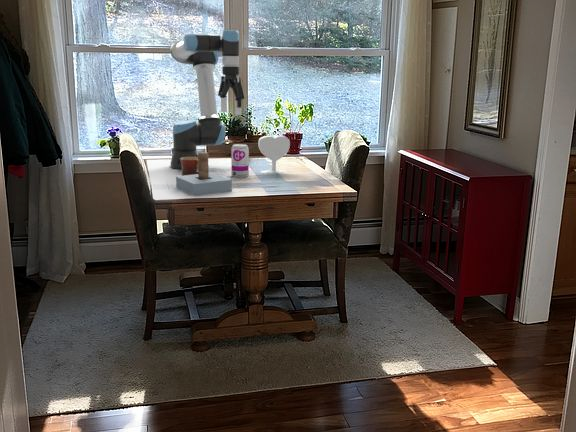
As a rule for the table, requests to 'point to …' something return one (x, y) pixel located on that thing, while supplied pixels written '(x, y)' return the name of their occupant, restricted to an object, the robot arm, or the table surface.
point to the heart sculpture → (274, 149)
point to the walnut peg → (203, 166)
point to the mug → (189, 165)
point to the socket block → (203, 184)
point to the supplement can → (240, 160)
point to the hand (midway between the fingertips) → (231, 113)
